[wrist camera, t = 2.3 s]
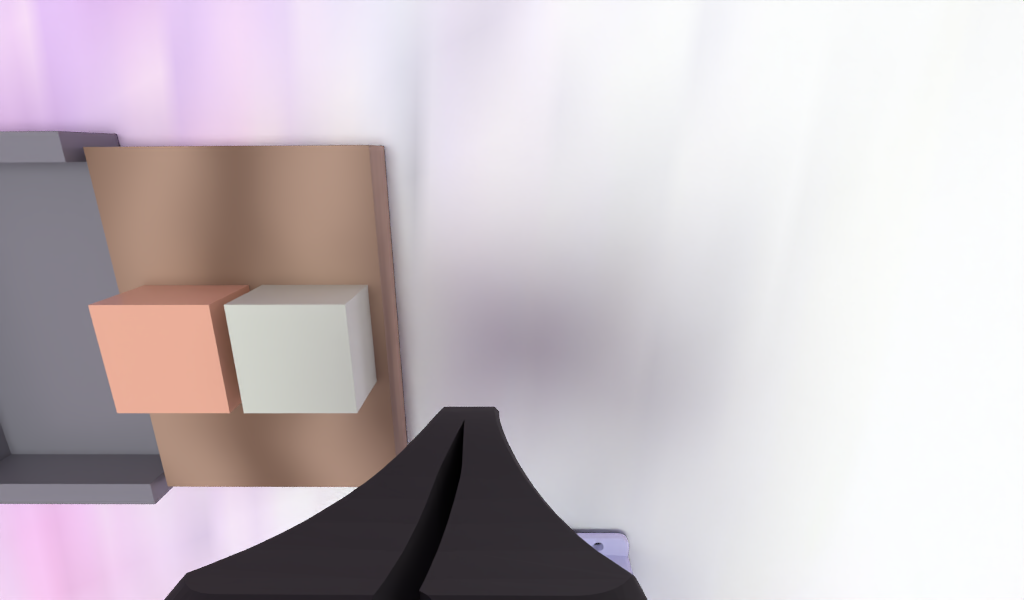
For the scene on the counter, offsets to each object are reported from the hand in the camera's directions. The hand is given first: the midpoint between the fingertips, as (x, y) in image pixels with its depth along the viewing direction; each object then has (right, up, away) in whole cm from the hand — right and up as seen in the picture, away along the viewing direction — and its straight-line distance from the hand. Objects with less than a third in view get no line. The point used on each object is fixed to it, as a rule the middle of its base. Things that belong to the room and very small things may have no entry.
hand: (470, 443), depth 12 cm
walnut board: (-9, +3, +9) cm, 13 cm away
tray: (-19, +3, +9) cm, 21 cm away
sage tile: (-6, +2, +7) cm, 10 cm away
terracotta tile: (-11, +2, +7) cm, 13 cm away
